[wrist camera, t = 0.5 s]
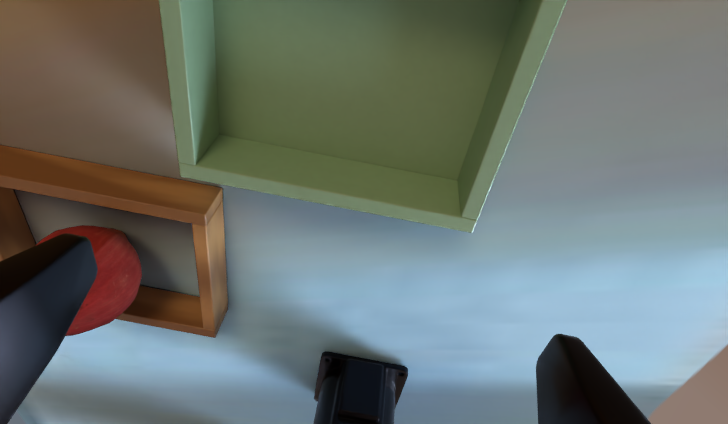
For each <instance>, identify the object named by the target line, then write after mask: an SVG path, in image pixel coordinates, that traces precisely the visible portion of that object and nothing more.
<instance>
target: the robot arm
mask: <svg viewBox="0 0 728 424" xmlns="http://www.w3.org/2000/svg"><path fill="white" fill-rule="evenodd" d="M97 271H98V268H97V263H96V259H95V256H94V252H93V248H92V244H91V241H90V240H89V239H88V238H87V237H85V236H80V235H75V234H70V233H64V234H61V235H58V236H56V237H54V238H51V239H49V240H47V241H45V242H42V243H40V244H38V245H36V246H33V247H31V248H29V249H27V250H24V251H22V252H20V253H18V254H15V255H13V256H11V257H9V258H6V259H4V260H2V261H0V424H7V423H8V422H9V421H10V419H11V418H12V416H13V415H14V413H15V412H16V410H17V409H18V407H19V406H20V404H21V403H22V401H23V400H24V399H25V397H26V396H27V394H28V393H29V391H30V390H31V388H32V387H33V385H34V384H35V382H36V381H37V379H38V378H39V377H40V375H41V374H42V372H43V371H44V369H45V368H46V366H47V365H48V363H49V362H50V360H51V359H52V357H53V356H54V354H55V353H56V351H57V349H58V348H59V346H60V344H61V342H62V341H63V339H64V337H65V335H66V333H67V332H68V330H69V328H70V326H71V324H72V322H73V320H74V318H75V317H76V315H77V313H78V311H79V309H80V307H81V305H82V304H83V302H84V300H85V298H86V296H87V294H88V292H89V290H90V289H91V287H92V285H93V283H94V281H95V279H96V276H97ZM407 376H408V369H407V368H406V367H405V366H401V365H396V364H391V363H385V362H380V361H375V360H370V359H364V358H359V357H354V356H349V355H343V354H338V353H333V352H323V353H322V355H321V360H320V366H319V372H318V378H317V384H316V390H315V396H314V399H315V400H316V401H318V404H317V409H316V414H315V419H314V424H394V410H395V407H396V404H397V402H398V399H399V397H400V394H401V392H402V389H403V387H404V384H405V381H406V379H407ZM536 379H537V403H538V424H651V423H650V422H649V421H648V419H647V418H646V417H645V416H644V415H643V413H642V412H641V411H640V410H639V409H638V407H637V406H636V405H635V404H634V403H633V401H632V400H631V399H630V398H629V397H628V396H627V394H626V393H625V392H624V391H623V390H622V388H621V387H620V386H619V385H618V384H617V382H616V381H615V380H614V379H613V378H612V376H611V375H610V374H609V373H608V372H607V370H606V369H605V368H604V367H603V366H602V364H601V363H600V362H599V361H598V360H597V359H596V357H595V356H594V355H593V354H592V353H591V351H590V350H589V349H588V348H587V347H586V345H585V344H584V343H583V342H582V341H581V340H580V339H579V338H577V337H573V336H568V335H564V334H556V335H555V336H553V338H552V339H551V340H550V342H549V343H548V345H547V346H546V348H545V349H544V350H543V352H542V353H541V355H540V356H539V358H538V361H537V365H536Z"/></svg>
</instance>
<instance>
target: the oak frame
mask: <svg viewBox="0 0 728 424" xmlns="http://www.w3.org/2000/svg"><path fill="white" fill-rule="evenodd" d="M13 189H16V190H21V191H26V192H31V193H37V194H42V195H47V196H52V197H57V198H63V199H68V200H73V201H78V202H83V203H88V204H94V205H99V206H104V207H109V208H114V209H120V210H125V211H130V212H135V213H140V214H145V215H151V216H156V217H161V218H166V219H171V220H177V221H182V222H187V223H192V230H193V239H194V248H195V257H196V266H197V275H198V285H199V294H200V297H198V296H193V295H188V294H182V293H177V292H172V291H167V290H162V289H156V288H151V287H146V286H141V285H140V286H139V289H138V292H137V295H136V298H135V299H134V301H133V302H132V303H131V305H130V306H129V307H128V308H127V309H126V310H125V311H124V312H123V313H122V314H121V315H119V316H118V317H117V318H116V319H119V320H124V321H129V322H135V323H140V324H145V325H150V326H155V327H161V328H166V329H171V330H176V331H182V332H187V333H192V334H197V335H203V336H208V337H213V338H215V337H216V335H217V333H218V331H219V329H220V326H221V324H222V322H223V320H224V318H225V315H226V313H227V311H228V295H227V276H226V256H225V237H224V217H223V200H222V199H223V194H222V188H220V187H215V186H210V185H205V184H200V183H194V182H189V181H184V180H179V179H174V178H169V177H163V176H158V175H153V174H148V173H143V172H138V171H132V170H127V169H122V168H117V167H112V166H107V165H101V164H96V163H91V162H86V161H81V160H76V159H70V158H65V157H60V156H55V155H50V154H45V153H39V152H34V151H29V150H24V149H19V148H14V147H8V146H3V145H0V261H2V260H4V259H6V258H9V257H11V256H13V255H15V254H18V253H20V252H22V251H24V250H27V249H29V248H31V247H33V246H35V245H36V244H35V242H34V239H33V237H32V234H31V232H30V229H29V227H28V224H27V222H26V220H25V217H24V215H23V212H22V210H21V207H20V205H19V202H18V200H17V198H16V195H15V193H14V190H13Z"/></svg>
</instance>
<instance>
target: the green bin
mask: <svg viewBox="0 0 728 424" xmlns="http://www.w3.org/2000/svg"><path fill="white" fill-rule="evenodd" d="M566 2H567V0H159V6H160V15H161V23H162V31H163V39H164V48H165V56H166V64H167V73H168V81H169V89H170V97H171V106H172V114H173V122H174V131H175V139H176V147H177V156H178V162H179V170H180V176H181V177H185V178H191V179H196V180H201V181H206V182H211V183H216V184H222V185H227V186H232V187H237V188H242V189H247V190H253V191H258V192H263V193H268V194H273V195H278V196H284V197H289V198H294V199H299V200H304V201H309V202H315V203H320V204H325V205H330V206H335V207H340V208H346V209H351V210H356V211H361V212H366V213H371V214H377V215H382V216H387V217H392V218H397V219H402V220H408V221H413V222H418V223H423V224H428V225H433V226H439V227H444V228H449V229H454V230H459V231H464V232H470V233H472V232H473V230H474V228H475V225H476V223H477V219H478V218H479V216H480V213H481V211H482V208H483V206H484V203H485V201H486V198H487V196H488V193H489V191H490V189H491V186H492V184H493V181H494V179H495V176H496V174H497V171H498V169H499V166H500V164H501V162H502V159H503V157H504V154H505V152H506V149H507V147H508V144H509V142H510V139H511V137H512V135H513V132H514V130H515V127H516V125H517V122H518V120H519V117H520V115H521V112H522V110H523V108H524V105H525V103H526V100H527V98H528V95H529V93H530V90H531V88H532V85H533V83H534V80H535V78H536V76H537V73H538V71H539V68H540V66H541V63H542V61H543V58H544V56H545V53H546V51H547V49H548V46H549V44H550V41H551V39H552V36H553V34H554V31H555V29H556V26H557V24H558V22H559V19H560V17H561V14H562V12H563V9H564V7H565V4H566Z"/></svg>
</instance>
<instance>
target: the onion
mask: <svg viewBox="0 0 728 424" xmlns="http://www.w3.org/2000/svg"><path fill="white" fill-rule="evenodd" d="M64 233H70V234H75V235H80V236H85V237H87V238H88V239H89V240H90V241H91V244H92V248H93V252H94V256H95V259H96V263H97V268H98V271H97V276H96V279H95V281H94V283H93V285H92V287H91V289H90V290H89V292H88V294H87V296H86V298H85V300H84V302H83V304H82V305H81V307H80V309H79V311H78V313H77V315H76V317H75V318H74V320H73V322H72V324H71V326H70V328H69V330H68V332H67V333H66V335H65V336H71V335H76V334H80V333H83V332H86V331H89V330H92V329H95V328H98V327H100V326H103V325H105V324H108V323H110V322H111V321H113V320H114V319H116V318H117V317H118V316H119V315H121V314H122V313H123V312H124V311H125V310H126V309H127V308H128V307H129V306H130V305H131V303H132V302H133V301H134V299H135V298H136V295H137V292H138V289H139V286H140V282H141V277H142V271H141V263H140V260H139V257H138V254H137V252H136V251H135V249H134V247H133V246H132V245H131V244H130V243H129V241H128V239H127V237H126V235H125V234H124V233H123V232H122V231H120V230H116V229H112V228H105V227H98V226H83V225H82V226H76V227H70V228H65V229H61V230H57V231H55V232H53V233H51V234H50V235H48V236H47V237H45V238H44V239H42V240H41V241H40V242H39V243H38V244H40V243H42V242H45V241H47V240H49V239H51V238H54V237H56V236H58V235H61V234H64ZM38 244H36V245H38ZM36 245H35V246H36Z"/></svg>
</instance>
